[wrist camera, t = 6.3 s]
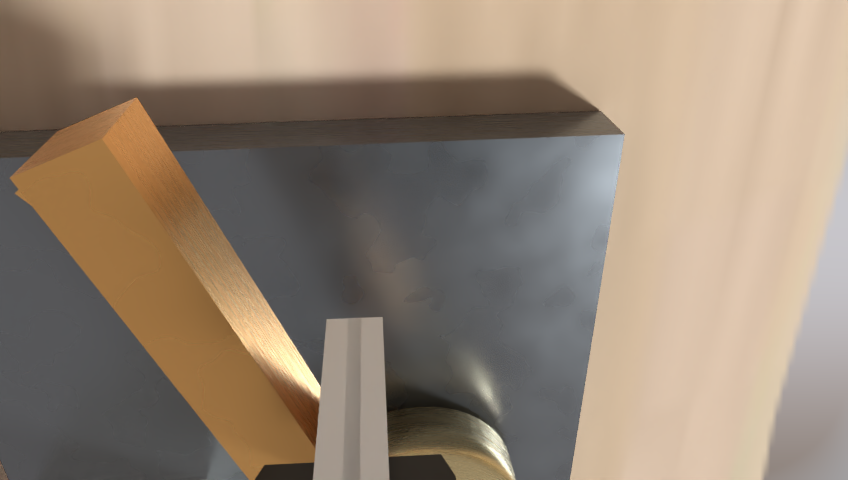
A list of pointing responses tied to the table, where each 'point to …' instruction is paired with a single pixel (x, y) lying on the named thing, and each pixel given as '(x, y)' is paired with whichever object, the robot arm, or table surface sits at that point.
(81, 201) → the door handle
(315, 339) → the levelling base
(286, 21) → the table surface
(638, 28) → the table surface
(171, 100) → the table surface
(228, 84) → the table surface
